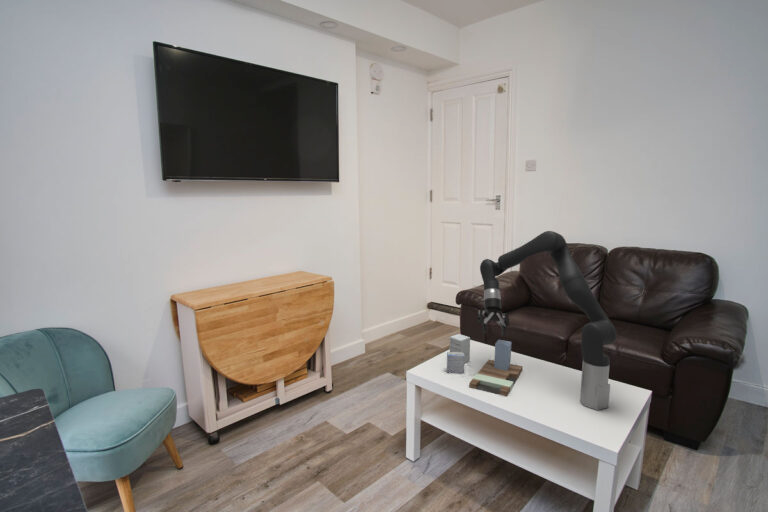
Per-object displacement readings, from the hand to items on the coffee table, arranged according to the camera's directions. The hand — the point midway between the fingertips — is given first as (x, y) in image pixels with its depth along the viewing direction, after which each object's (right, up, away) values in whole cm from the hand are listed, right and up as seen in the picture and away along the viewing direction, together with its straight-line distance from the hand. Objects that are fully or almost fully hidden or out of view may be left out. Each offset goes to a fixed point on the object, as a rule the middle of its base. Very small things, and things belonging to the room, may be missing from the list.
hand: (494, 334), depth 180 cm
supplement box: (-12, -18, +21) cm, 30 cm away
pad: (-2, -21, -5) cm, 22 cm away
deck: (+2, -20, +1) cm, 20 cm away
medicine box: (-16, -19, +9) cm, 27 cm away
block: (+6, -17, +9) cm, 20 cm away
